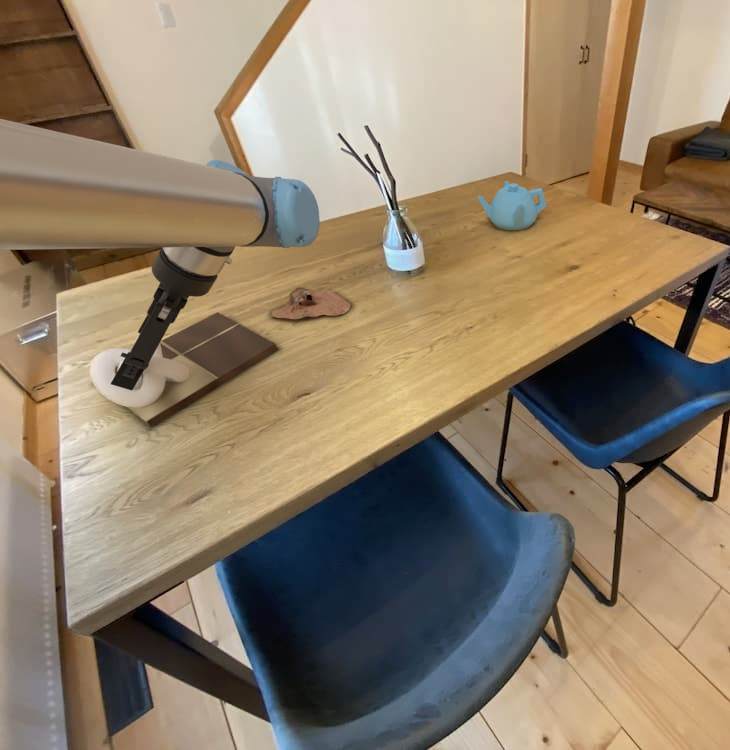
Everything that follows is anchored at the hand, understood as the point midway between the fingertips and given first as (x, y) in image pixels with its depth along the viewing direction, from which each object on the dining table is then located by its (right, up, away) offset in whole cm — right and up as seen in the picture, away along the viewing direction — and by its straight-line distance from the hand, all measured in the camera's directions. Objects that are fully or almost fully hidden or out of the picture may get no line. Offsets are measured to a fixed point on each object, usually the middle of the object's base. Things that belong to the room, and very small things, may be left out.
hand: (135, 358), depth 71 cm
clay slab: (+18, +13, +26) cm, 34 cm away
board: (+1, -1, +11) cm, 11 cm away
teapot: (+64, +42, +57) cm, 95 cm away
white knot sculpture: (+1, -5, +4) cm, 7 cm away
